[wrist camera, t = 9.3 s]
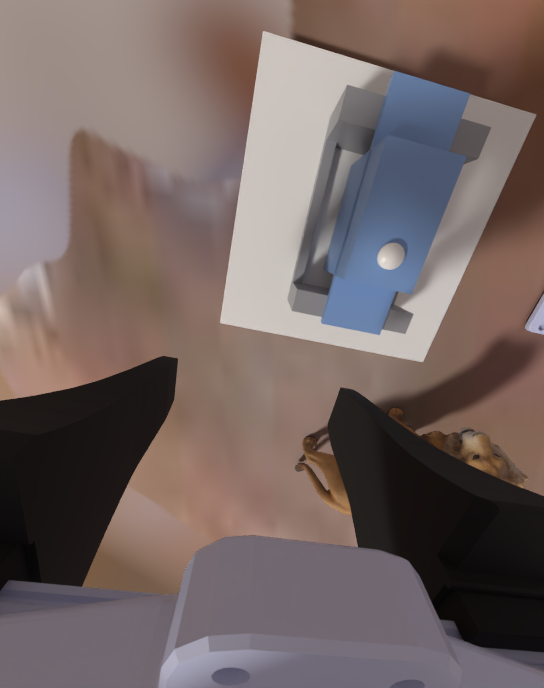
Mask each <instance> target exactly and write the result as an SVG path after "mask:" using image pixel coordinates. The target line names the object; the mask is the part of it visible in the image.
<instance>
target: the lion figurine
mask: <svg viewBox="0 0 544 688" xmlns="http://www.w3.org/2000/svg"><path fill="white" fill-rule="evenodd" d="M388 415H389V416H390V417H391V418H393V419H394V420H395V421H397V422H398V423H400V424H401V425H402V426H404V427H405V428H407V429H408V430H410V431H411V432H412V433H414V434H416V433H415V431H414V429H413V428H411V427H408V426H407V425H405V424H404V423H402V422H401V421H400V419H401V418H402V417H403V411H402V410H400V409H399V408H392V409H391V410H390V411H389V413H388ZM416 435H417V436H419V435H418V434H416ZM419 437H420V438H422V439H423V440H425V441H427V442H428V443H430V444H432V445H433V446H435V447H437V448H438V449H440V450H442V451H444V452H446V453H447V454H449V455H451V456H453V457H455V458H457V459H459V460H461V461H463V462H465V463H467V464H469V465H471V466H473V467H475V468H477V469H479V470H481V471H483V472H486V473H488V474H490V475H492V476H494V477H497V478H499V479H501V480H503V481H506V482H508V483H511V484H513V485H516V486H518V487H521V488H524V484H523V482H525V481H526V480H527V479H528V477H527V476H526V475H524V474H523V473H522V472H521V471H520V470H519V469H518V468H517V467H516V465H515V464H514V463H512V461H511V460H510V459H509V458H508V456H507V455H506V454H505V453H504V452H503V451H502V449H501V448H500V447H499V446H498V445H495V444H493V443H491V442H490V438H489V436H488V435H487V434H486V433H485V432H482V431H477V432H475V431H474V430H473V429H471V428H470V427H463V428H461V429H460V431H459V433H456V432H454V433H452V434H448V435H445V434H443V433H441V432H439V431H434V432H430V433H428V434H423V435H422V436H419ZM316 444H317V441H316V440H315V439H314V438H313V437H307V438H305V439H304V440H303V443H302V447H303V451H304V454H305V456H306V459H307V461H308V462H309V463H311V464H314V465H316V466H317V467H318V468H319V469H320V470H321V471H322V472H323V474H324V476H325V478H326V480H327V483H328V486H329V490H328V491H327V490H326V489H325V488H324V486H323V485H322V483H321V482H320V481H319V479H318V478H317V476H316V475H315V473H314V472H313V470H312V469H311V468H310V467H309V466H308V465H307V464H305V463H298V464H297V465H296V466H295V470H296V471H297V472H299V471H302V470H305V471H306V472H307V474H308V476H309V478H310V480H311V482H312V484H313V486H314V488H315V489H316V491H317V493H318V494H319V495H320V497H321V498H322V499H323V500H324V501H325V502H326V503H327V504H328V505H329V506H331V507H333V508H334V509H336V510H338V511H341V512H342V513H343V514H346V515H350V516H352V514H351V509H350V504H349V500H348V497H347V493H346V490H345V487H344V484H343V481H342V478H341V475H340V472H339V469H338V465H337V462H336V459H335V456H334V455H331V454H327V453H322V452H317V451H314V450H312V449H313V448H315V447H316Z"/></svg>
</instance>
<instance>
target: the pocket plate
mask: <svg viewBox="0 0 544 688" xmlns="http://www.w3.org/2000/svg"><path fill="white" fill-rule="evenodd" d="M393 73H394V71H393V70H389V69H386V68H383V67H380V66H376V65H373V64H370V63H367V62H363V61H360V60H357V59H353V58H350V57H347V56H344V55H340V54H337V53H334V52H331V51H327V50H324V49H321V48H318V47H314V46H311V45H308V44H305V43H301V42H298V41H295V40H292V39H288V38H285V37H282V36H278V35H275V34H272V33H269V32H265V31H263V36H262V43H261V49H260V56H259V63H258V70H257V77H256V83H255V90H254V97H253V104H252V110H251V117H250V124H249V131H248V137H247V144H246V151H245V158H244V165H243V171H242V178H241V185H240V191H239V198H238V205H237V212H236V218H235V225H234V232H233V239H232V245H231V252H230V259H229V266H228V273H227V279H226V286H225V293H224V300H223V306H222V313H221V320H220V323H223V324H228V325H233V326H239V327H244V328H249V329H254V330H259V331H264V332H270V333H275V334H280V335H285V336H290V337H295V338H300V339H306V340H311V341H316V342H321V343H326V344H331V345H337V346H342V347H347V348H352V349H357V350H362V351H368V352H373V353H378V354H383V355H388V356H393V357H399V358H404V359H409V360H414V361H419V362H423V361H424V358H425V356H426V354H427V352H428V350H429V348H430V345H431V343H432V341H433V339H434V337H435V335H436V332H437V330H438V328H439V326H440V324H441V322H442V319H443V317H444V315H445V313H446V311H447V308H448V306H449V304H450V302H451V300H452V298H453V295H454V293H455V291H456V289H457V287H458V285H459V282H460V280H461V278H462V276H463V274H464V272H465V269H466V267H467V265H468V263H469V261H470V258H471V256H472V254H473V252H474V250H475V248H476V245H477V243H478V241H479V239H480V237H481V235H482V232H483V230H484V228H485V226H486V224H487V221H488V219H489V217H490V215H491V213H492V211H493V208H494V206H495V204H496V202H497V200H498V198H499V195H500V193H501V191H502V189H503V187H504V185H505V182H506V180H507V178H508V176H509V174H510V171H511V169H512V167H513V165H514V163H515V161H516V158H517V156H518V154H519V152H520V150H521V148H522V145H523V143H524V141H525V139H526V137H527V134H528V132H529V130H530V128H531V126H532V124H533V121H534V119H535V117H536V114H533V113H530V112H526V111H523V110H520V109H517V108H513V107H510V106H507V105H504V104H500V103H497V102H494V101H490V100H487V99H484V98H481V97H477V96H474V95H471V94H470V96H469V99H468V102H467V104H466V107H465V110H464V112H463V115H462V118H461V120H460V123H459V126H458V128H457V131H456V134H455V136H454V139H453V142H452V144H451V147H450V149H449V152H453V153H457V154H460V155H464V156H467V157H466V160H465V162H464V165H463V167H462V170H461V172H460V175H459V177H458V180H457V182H456V185H455V187H454V190H453V192H452V195H451V197H450V200H449V202H448V205H447V207H446V210H445V212H444V215H443V217H442V220H441V222H440V225H439V227H438V230H437V232H436V235H435V237H434V240H433V242H432V245H431V247H430V250H429V252H428V255H427V257H426V260H425V262H424V265H423V267H422V270H421V272H420V275H419V277H418V280H417V282H416V285H415V287H414V290H413V292H412V294H407V293H403V292H398V291H396V293H395V296H394V298H393V301H392V304H391V306H390V309H389V312H388V314H387V317H386V320H385V322H384V325H383V328H382V330H381V333H380V335H376V334H371V333H366V332H361V331H356V330H351V329H346V328H341V327H336V326H331V325H326V324H322V323H321V318H322V315H323V311H324V308H325V304H326V301H327V297H328V294H329V290H330V287H331V283H332V280H333V276H334V275H333V274H331V273H329V272H327V271H325V270H323V268H324V264H325V261H326V257H327V253H328V249H329V246H330V242H331V238H332V235H333V231H334V227H335V223H336V220H337V216H338V212H339V209H340V205H341V201H342V197H343V194H344V190H345V186H346V183H347V179H348V175H349V171H350V168H351V166H352V165H353V164H354V163H355V162H356V161H357V160H359V159H360V158H361V157H362V156H363V155H364V154H365V153H367V152H368V151H369V150H370V147H371V143H372V140H373V137H374V133H375V130H376V126H377V123H378V119H379V116H380V112H381V109H382V105H383V102H384V98H385V95H386V91H387V88H388V84H389V81H390V77H391V75H392V74H393Z"/></svg>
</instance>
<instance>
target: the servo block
mask: <svg viewBox="0 0 544 688" xmlns="http://www.w3.org/2000/svg"><path fill="white" fill-rule="evenodd" d="M469 96H470V93H467V92H464V91H460V90H457V89H454V88H450V87H447V86H444V85H440V84H437V83H434V82H430V81H427V80H424V79H420V78H417V77H414V76H411V75H407V74H404V73H401V72H397V71H394V73H393V74H392V75H391V77H390V81H389V84H388V88H387V91H386V95H385V98H384V102H383V105H382V109H381V112H380V116H379V119H378V123H377V126H376V130H375V133H374V137H373V140H372V143H371V147H370V150H369V151H368V152H367V153H365V154H364V155H363V156H362V157H361V158H360V159H359V160H357V161H356V162H355V163H354V164H353V165H352V166H351V168H350V171H349V175H348V179H347V183H346V186H345V190H344V194H343V197H342V201H341V205H340V209H339V212H338V216H337V220H336V223H335V227H334V231H333V235H332V238H331V242H330V246H329V249H328V253H327V257H326V261H325V264H324V268H323V270H325V271H327V272H329V273H331V274H333V275H334V276H333V280H332V283H331V287H330V290H329V294H328V297H327V301H326V304H325V308H324V311H323V315H322V318H321V323H322V324H326V325H331V326H336V327H341V328H346V329H351V330H356V331H361V332H366V333H371V334H376V335H380V333H381V330H382V328H383V325H384V322H385V320H386V317H387V314H388V312H389V309H390V306H391V304H392V301H393V298H394V296H395V293H396V291H398V292H403V293H407V294H412V292H413V290H414V287H415V285H416V282H417V280H418V277H419V275H420V272H421V270H422V267H423V265H424V262H425V260H426V257H427V255H428V252H429V250H430V247H431V245H432V242H433V240H434V237H435V235H436V232H437V230H438V227H439V225H440V222H441V220H442V217H443V215H444V212H445V210H446V207H447V205H448V202H449V200H450V197H451V195H452V192H453V190H454V187H455V185H456V182H457V180H458V177H459V175H460V172H461V170H462V167H463V165H464V162H465V160H466V157H467V156H464V155H460V154H457V153H453V152H449V149H450V147H451V144H452V142H453V139H454V136H455V134H456V131H457V128H458V126H459V123H460V120H461V118H462V115H463V112H464V110H465V107H466V104H467V102H468V99H469Z"/></svg>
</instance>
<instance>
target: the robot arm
mask: <svg viewBox="0 0 544 688" xmlns="http://www.w3.org/2000/svg"><path fill="white" fill-rule="evenodd" d="M539 326H540V327H539ZM525 328H526V330H528V331H530V332H534V333H539V334H543V335H544V294H543V296H542V297H541V299H540V301H539V302H538V304H537V306H536V308H535V309H534V311H533V313H532V314H531V316H530V318H529V320H528V321H527V323H526V326H525ZM177 363H178V359H177V358H172V357H166V356H162V357H159V358H156V359H153V360H151V361H149V362H146V363H144V364H141V365H139V366H137V367H134V368H132V369H129V370H127V371H124V372H121V373H119V374H116V375H113V376H110V377H108V378H105V379H102V380H99V381H96V382H92V383H89V384H85V385H81V386H78V387H74V388H70V389H65V390H60V391H55V392H51V393H46V394H41V395H36V396H30V397H23V398H17V399H9V400H2V401H0V688H544V496H541V495H539V494H536V493H534V492H531V491H529V490H526V489H524V488H521V487H518V486H516V485H513V484H511V483H508V482H506V481H503V480H501V479H499V478H497V477H494V476H492V475H490V474H488V473H486V472H483V471H481V470H479V469H477V468H475V467H473V466H471V465H469V464H467V463H465V462H463V461H461V460H459V459H457V458H455V457H453V456H451V455H449V454H447V453H446V452H444V451H442V450H440V449H438V448H437V447H435V446H433V445H432V444H430V443H428V442H427V441H425V440H423V439H422V438H420V437H419V436H417V435H416V434H414V433H412V432H411V431H410V430H408V429H407V428H405V427H404V426H402V425H401V424H400V423H398V422H397V421H395V420H394V419H393V418H391V417H390V416H389V415H387V414H386V413H385V412H383V411H382V410H381V409H380V408H378V407H377V406H376V405H374V404H373V403H372V402H370V401H369V400H368V399H367V398H365V397H364V396H362V395H361V394H360V393H358V392H356V391H355V390H352V389H346V388H340V391H339V394H338V396H337V399H336V402H335V405H334V408H333V411H332V414H331V416H330V419H329V422H328V430H329V437H330V442H331V446H332V450H333V453H334V456H335V459H336V462H337V465H338V469H339V472H340V475H341V478H342V481H343V484H344V487H345V490H346V493H347V497H348V500H349V504H350V509H351V514H352V518H353V523H354V528H355V533H356V538H357V543H358V547H350V546H342V545H333V544H325V543H316V542H307V541H299V540H290V539H282V538H273V537H265V536H256V535H249V536H232V537H224V538H222V539H220V540H217V541H215V542H213V543H211V544H209V545H207V546H205V547H203V548H201V549H200V550H198V551H196V553H195V554H194V556H193V558H192V559H191V561H190V562H189V564H188V566H187V567H186V569H185V572H184V576H183V580H182V584H181V588H180V592H179V593H177V594H168V595H165V594H155V593H154V594H153V593H143V592H133V591H121V590H110V589H100V588H89V587H82V585H83V583H84V580H85V578H86V576H87V573H88V571H89V569H90V566H91V564H92V561H93V559H94V557H95V555H96V552H97V550H98V548H99V546H100V543H101V541H102V539H103V536H104V534H105V532H106V530H107V527H108V525H109V523H110V521H111V518H112V516H113V514H114V512H115V510H116V508H117V506H118V503H119V501H120V499H121V497H122V495H123V493H124V491H125V489H126V487H127V485H128V483H129V480H130V478H131V476H132V474H133V473H134V471H135V469H136V467H137V465H138V464H139V462H140V460H141V459H142V457H143V455H144V454H145V452H146V451H147V449H148V447H149V446H150V444H151V442H152V441H153V439H154V438H155V436H156V434H157V433H158V431H159V429H160V428H161V426H162V424H163V423H164V421H165V419H166V417H167V415H168V413H169V410H170V408H171V406H172V403H173V401H174V395H175V385H176V374H177Z"/></svg>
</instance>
